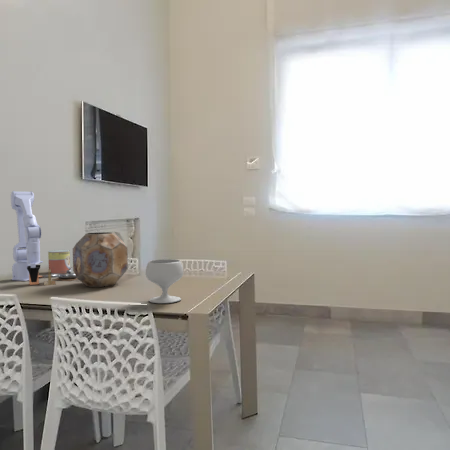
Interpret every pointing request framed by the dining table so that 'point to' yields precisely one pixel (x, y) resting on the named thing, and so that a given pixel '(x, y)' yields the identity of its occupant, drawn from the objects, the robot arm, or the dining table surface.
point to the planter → (100, 259)
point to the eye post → (49, 279)
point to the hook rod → (41, 278)
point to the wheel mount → (65, 279)
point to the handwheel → (68, 274)
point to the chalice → (164, 277)
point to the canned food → (59, 261)
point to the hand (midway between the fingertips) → (34, 281)
